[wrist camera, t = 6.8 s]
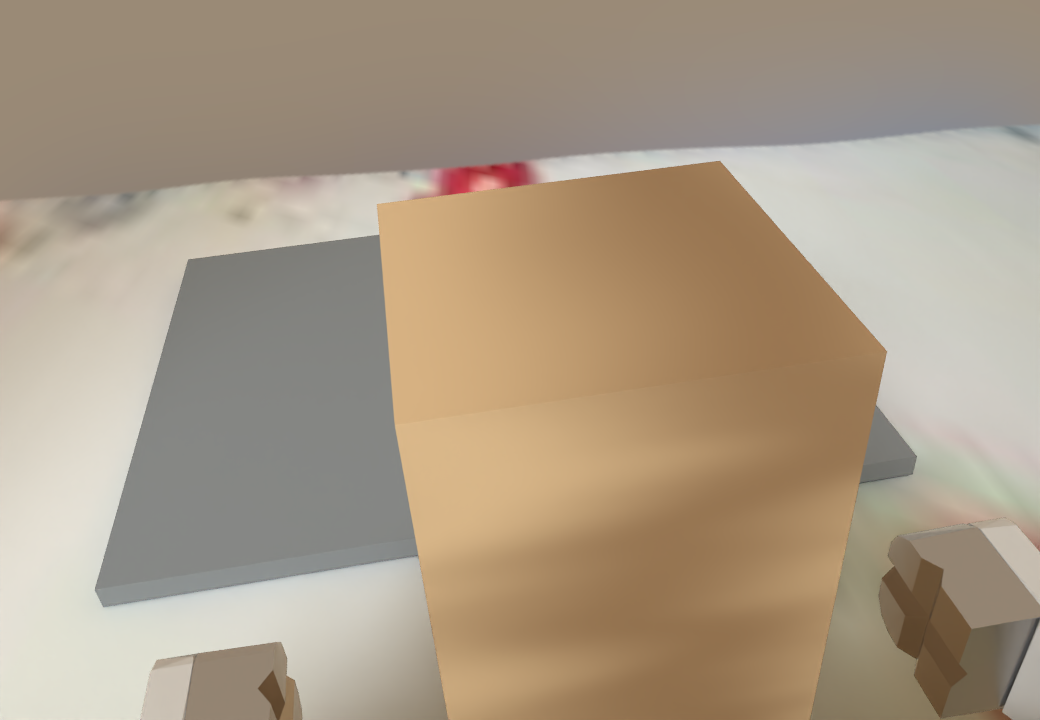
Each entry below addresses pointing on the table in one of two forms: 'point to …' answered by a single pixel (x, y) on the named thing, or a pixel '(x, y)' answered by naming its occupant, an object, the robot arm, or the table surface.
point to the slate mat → (283, 430)
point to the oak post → (623, 445)
